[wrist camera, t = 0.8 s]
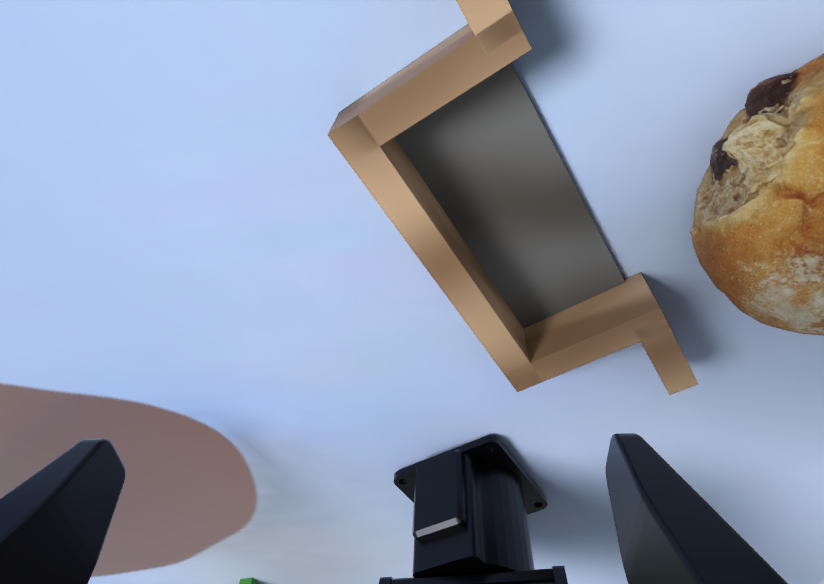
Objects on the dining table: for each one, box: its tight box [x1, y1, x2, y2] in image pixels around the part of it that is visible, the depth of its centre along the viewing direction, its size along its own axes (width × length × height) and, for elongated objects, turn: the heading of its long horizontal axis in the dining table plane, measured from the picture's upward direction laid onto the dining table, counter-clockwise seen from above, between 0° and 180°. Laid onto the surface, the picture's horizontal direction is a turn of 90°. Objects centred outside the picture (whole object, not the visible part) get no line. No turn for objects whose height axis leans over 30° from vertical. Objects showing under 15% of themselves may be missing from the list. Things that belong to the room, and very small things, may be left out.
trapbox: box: [328, 0, 698, 395], centre depth 16 cm, size 23×27×4 cm
